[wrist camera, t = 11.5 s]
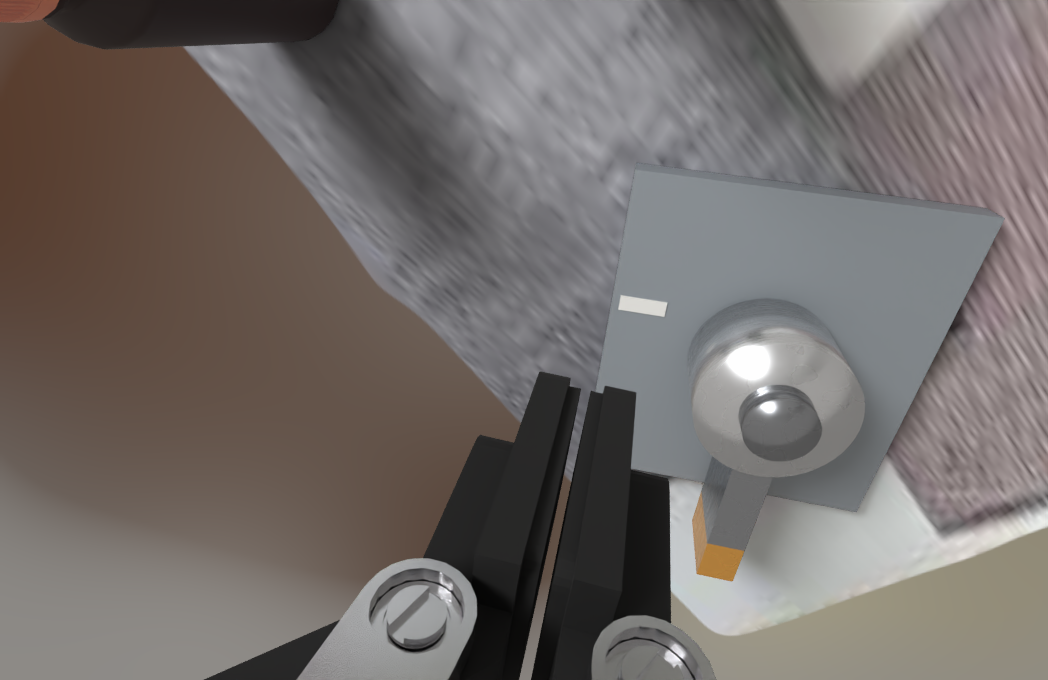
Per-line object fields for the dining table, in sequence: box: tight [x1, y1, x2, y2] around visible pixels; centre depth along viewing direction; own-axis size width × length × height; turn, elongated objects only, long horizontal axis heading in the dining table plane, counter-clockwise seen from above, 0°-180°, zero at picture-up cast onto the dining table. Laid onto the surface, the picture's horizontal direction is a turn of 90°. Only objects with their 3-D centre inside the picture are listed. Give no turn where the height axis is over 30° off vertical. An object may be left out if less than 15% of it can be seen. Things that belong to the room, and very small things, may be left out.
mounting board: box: [595, 163, 1005, 512], centre depth 39 cm, size 20×22×2 cm
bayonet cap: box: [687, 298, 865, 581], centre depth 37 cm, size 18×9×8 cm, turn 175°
